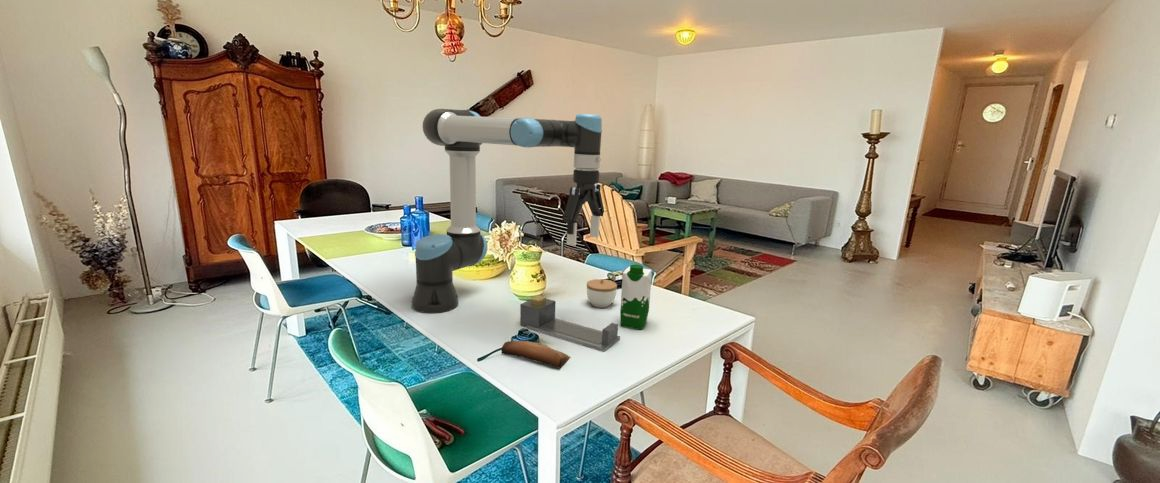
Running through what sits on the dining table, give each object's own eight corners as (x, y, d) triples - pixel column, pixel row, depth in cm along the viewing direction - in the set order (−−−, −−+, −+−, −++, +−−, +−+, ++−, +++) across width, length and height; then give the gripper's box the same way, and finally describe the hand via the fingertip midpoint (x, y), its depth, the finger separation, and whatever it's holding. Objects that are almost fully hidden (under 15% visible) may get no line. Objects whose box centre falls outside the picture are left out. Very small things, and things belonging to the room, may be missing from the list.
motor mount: (516, 325, 150) (517, 299, 148) (535, 315, 158) (536, 290, 156) (604, 351, 134) (605, 323, 132) (620, 339, 143) (621, 312, 141)
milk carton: (616, 327, 152) (620, 266, 147) (623, 317, 160) (627, 259, 155) (644, 331, 149) (649, 270, 144) (649, 321, 157) (654, 262, 153)
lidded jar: (614, 299, 176) (615, 275, 174) (617, 310, 165) (619, 284, 163) (585, 298, 175) (586, 274, 173) (586, 309, 165) (587, 283, 163)
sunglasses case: (573, 356, 131) (568, 341, 127) (563, 378, 126) (558, 363, 122) (516, 342, 138) (510, 327, 134) (505, 362, 133) (498, 348, 129)
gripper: (575, 172, 126) (572, 250, 131) (617, 168, 147) (613, 235, 152) (551, 170, 130) (549, 246, 135) (596, 166, 151) (592, 232, 156)
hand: (583, 240), depth 144 cm, fingers open, 13 cm apart
